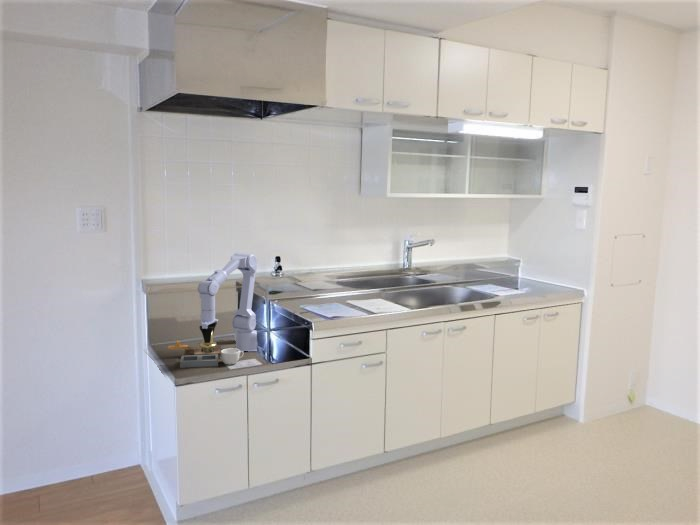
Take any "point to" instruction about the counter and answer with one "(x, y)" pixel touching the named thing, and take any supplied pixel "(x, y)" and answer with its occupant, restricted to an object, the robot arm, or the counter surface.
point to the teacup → (230, 355)
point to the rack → (199, 361)
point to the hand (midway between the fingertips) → (208, 341)
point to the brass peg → (208, 345)
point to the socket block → (200, 351)
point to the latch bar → (178, 346)
